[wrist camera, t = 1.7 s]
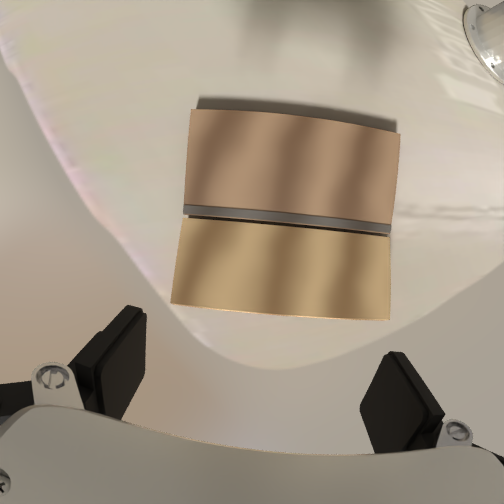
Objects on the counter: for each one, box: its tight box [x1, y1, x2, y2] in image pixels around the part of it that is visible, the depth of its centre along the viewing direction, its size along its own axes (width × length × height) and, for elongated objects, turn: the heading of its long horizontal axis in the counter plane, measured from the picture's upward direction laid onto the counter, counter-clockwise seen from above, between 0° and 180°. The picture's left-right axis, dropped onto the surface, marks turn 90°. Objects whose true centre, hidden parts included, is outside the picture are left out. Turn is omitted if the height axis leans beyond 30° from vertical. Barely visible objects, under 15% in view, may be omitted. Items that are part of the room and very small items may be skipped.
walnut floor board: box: [183, 109, 400, 234], centre depth 27 cm, size 20×10×2 cm, turn 85°
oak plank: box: [170, 218, 391, 321], centre depth 27 cm, size 20×8×2 cm
